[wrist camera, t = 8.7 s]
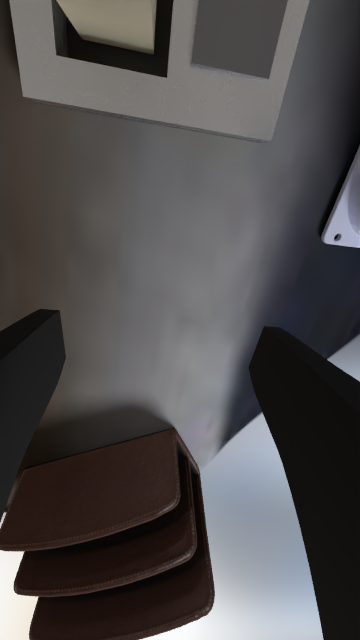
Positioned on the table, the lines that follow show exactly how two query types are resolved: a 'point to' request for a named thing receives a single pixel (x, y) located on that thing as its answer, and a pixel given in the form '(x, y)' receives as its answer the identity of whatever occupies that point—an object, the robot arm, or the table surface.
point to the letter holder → (112, 541)
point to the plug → (114, 22)
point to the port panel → (173, 67)
